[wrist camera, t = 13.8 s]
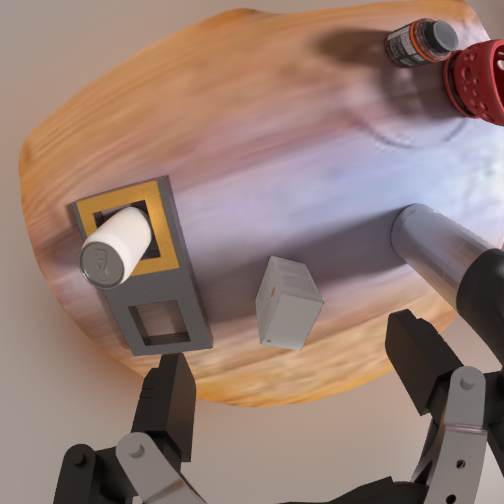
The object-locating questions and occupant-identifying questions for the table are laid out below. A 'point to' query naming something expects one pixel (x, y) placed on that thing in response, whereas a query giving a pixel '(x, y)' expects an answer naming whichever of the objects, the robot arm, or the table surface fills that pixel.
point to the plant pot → (477, 81)
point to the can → (115, 248)
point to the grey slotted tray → (152, 270)
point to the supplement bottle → (421, 43)
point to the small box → (286, 304)
